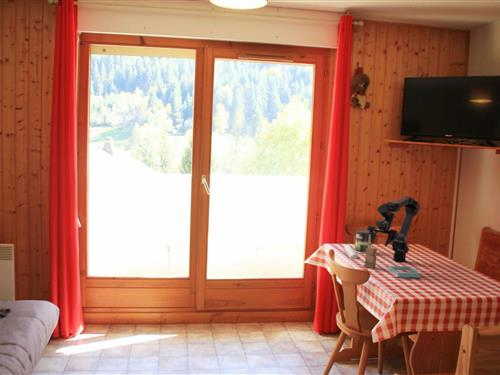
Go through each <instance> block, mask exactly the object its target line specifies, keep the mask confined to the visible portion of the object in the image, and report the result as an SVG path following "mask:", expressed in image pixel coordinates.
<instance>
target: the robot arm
mask: <svg viewBox="0 0 500 375" xmlns="http://www.w3.org/2000/svg"><path fill="white" fill-rule="evenodd" d="M377 207H378V206H377ZM403 207H404V211H405V215H404V217H403V221H402V224H401V228H400V230H399V231H397V230H396V229H391V228H393V223H394V222H393V221H394V219H396V214H395V213H399V211H401V208H403ZM420 210H421V205H420V204H419V202H418V201H416V200H415V199H414V198H413V197H411V196H404V197H402V198H400V199H397V200H396V201H395V200H393V201H388V202H386V203H385V202H384V203H382V204H381V205H379V207H378V208H377V212H378V213H379V215H380V216H381V217H382V219H381V220H380V221H379V220H376V221H375V225H368V226H367V228H366V230H368V231H369V232H370V234H371V245H372V244H373V243H374V240H375V239H376V237H377V233H380V234H384V235H385V234H386V235H387V237H386V238H387V239H386V241H385V243H384V247H388V245H389V244H390V243H391V247H392V248H391V249H392V251H394V252H393V256H392V261H393V260H394V261H395V262H396V263H407V260H406V258H407V256H406V255H407V253H409V250H410V248H409V246H408V239H407V236H408V234H409V231H410V228H411V225H412V223H413V220H414V217H416V216H417V215H418V214H419V212H420Z"/></svg>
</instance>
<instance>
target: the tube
mask: <svg viewBox="0 0 500 375" xmlns="http://www.w3.org/2000/svg"><path fill="white" fill-rule="evenodd" d="M343 251H344V252H345V253H346V255H347V257H348V258H350V259H351V260H352V259H353V260H358V259H359V255H358V253H357V252H355V249H354V248H353V247H352V245H350V244H344V246H343Z"/></svg>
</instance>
